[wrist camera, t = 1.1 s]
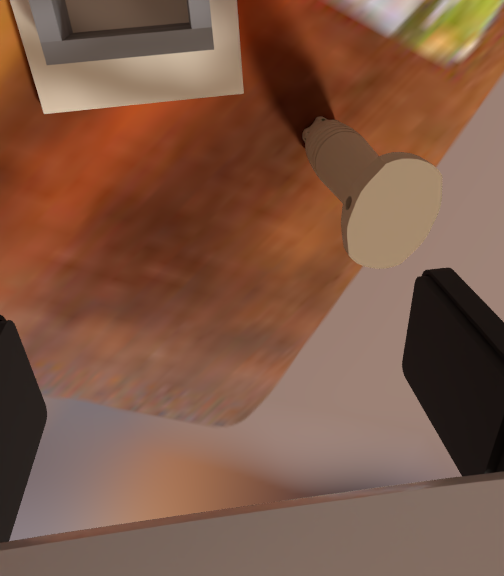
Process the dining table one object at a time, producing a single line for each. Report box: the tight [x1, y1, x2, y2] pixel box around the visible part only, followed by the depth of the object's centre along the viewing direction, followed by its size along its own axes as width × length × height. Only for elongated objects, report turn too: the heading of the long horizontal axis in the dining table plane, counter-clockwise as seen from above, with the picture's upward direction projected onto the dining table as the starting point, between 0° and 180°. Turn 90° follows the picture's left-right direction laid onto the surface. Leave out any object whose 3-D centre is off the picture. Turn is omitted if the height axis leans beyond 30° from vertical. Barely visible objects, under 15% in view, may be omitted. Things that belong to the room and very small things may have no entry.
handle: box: [302, 116, 442, 269], centre depth 32 cm, size 5×6×15 cm
